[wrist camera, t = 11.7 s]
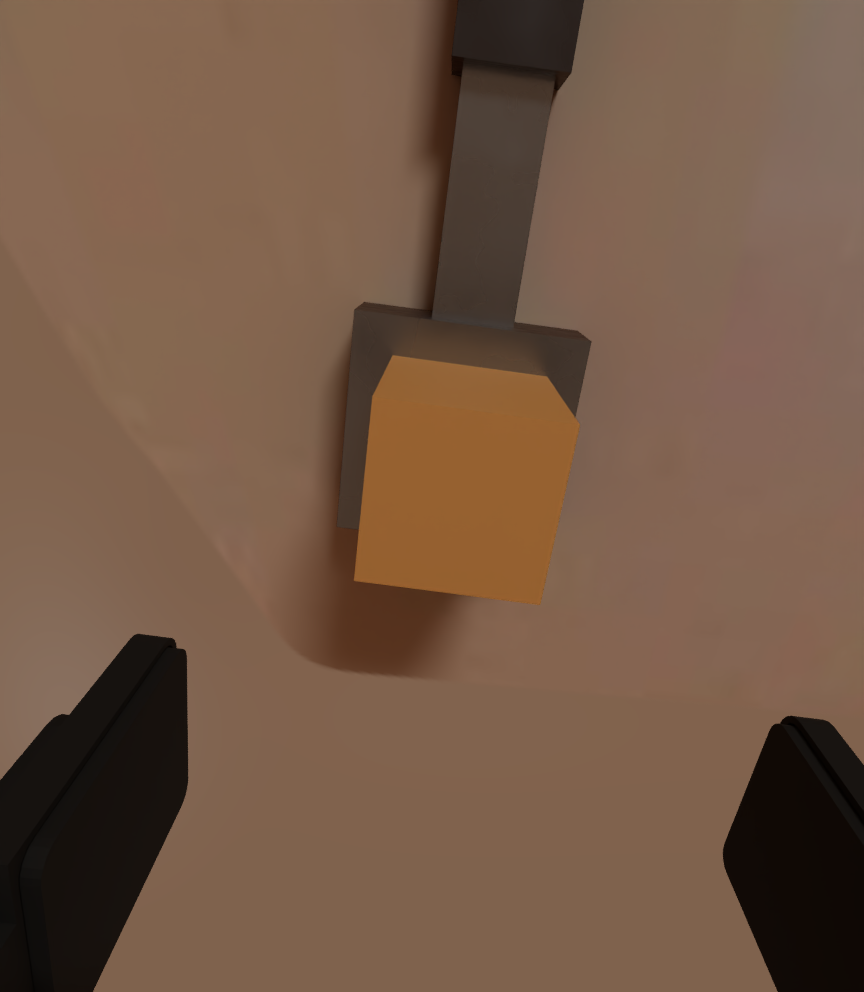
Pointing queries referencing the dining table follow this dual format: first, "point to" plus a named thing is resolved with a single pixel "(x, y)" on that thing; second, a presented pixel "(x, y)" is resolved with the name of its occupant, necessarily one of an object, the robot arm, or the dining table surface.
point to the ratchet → (479, 224)
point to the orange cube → (463, 480)
